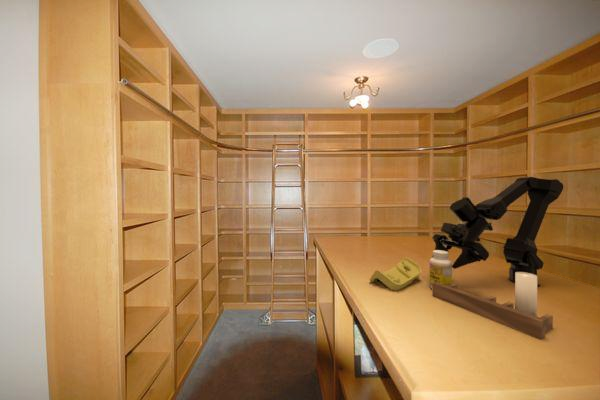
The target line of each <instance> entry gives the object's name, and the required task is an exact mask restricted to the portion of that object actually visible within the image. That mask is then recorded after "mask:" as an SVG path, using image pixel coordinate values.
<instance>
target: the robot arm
mask: <svg viewBox="0 0 600 400" xmlns="http://www.w3.org/2000/svg"><path fill="white" fill-rule="evenodd" d="M563 190H564V183H562V182H561V181H560V180H559V179H556V178H555V179H554V178H553V179H552V178H551V179H548V178H538V177H534V176H524V177H518V178H516V179H515V181H514V182H513V183H511V184H510V185H509V186H507V187H506V188H505V189H503V190H502V191H500V192H499V193H498V194H496V195H495V196H494V197H492V198H487V199H485V200H482V201H480V202H479V203H477V204H476V205H475V204H474V203H473V202H472V200H471V199H470V198H469V197H468V196H467V197H466V196H465V197H462V198H461V199H458V200H456V201H455V202H453V203H451V204H450V207H449V209H450V211H451V212H452V213H453V214H454V215H455V216H456V218H458V220H459V221H461V222H465V223H457V224H454V223H449V222H443V223H442V226H441V229H440V232H441V233H445V234H447V236H448V237H447V236H446V235H444V234H440V233H436V234H434V235H433V236H432V240H433V242H434V243H435V248H434V250H443V251H447V252H449V251H450V250H451V249H452V248H455V249H460V250H461V253H460V254H459V256H458V257H457V258H456V260H455V261H454V262H453V263H452V269H454V270H455V269H458V268H460V267H463V266H467V265H469V264H472V263H476V262H477V263H478V262H481V261H484V262H486V261H487V259H488V258H489V257H490V252H489V251H488V250H487V249H486V247H485V246H484V245H482V243H481V242H480V241H481V239H480V236H481V235H482V234H483V233H484V231H490V232H492V231H494V228H493V225H492V222H488V220H493V221H498V220H500V219H501V218H502V217H503V216H504V215H505V214H506V213H507V212H508V207H509V206H510V205H511V204H513V203H514V202H515V201H517V200H518V199H519V198H521V197H522V196H524V195H525V194H526V193H527V196H528V198H529V203H528V205H527V208H526V211H525V213H524V216H523V218H522V220H521V223H520V226H519V228H518V231H517V233H516V235H515V236H514V237H513V238H512V237H511V238H510V237H507V238H506V240H505V243H504V245H503V246H502V248H503V251H502V254H503V255H504V258H505V261H506V263H508V264H510V267H509V269H508V270H509V271H508V275H509V276H508V279H509V280H510V281H512V282H514V283H515V272H526V273H531V274H534V275H537V276H538V271H539V270H542V269H543V267H544V264H545V263H544V261H543V260H542V259H541V258H540V257H539V256H538V255H537V254H538V248H537V245H536V239H537V236H538V233H539V231H540V228H541V226H542V223H543V220H544V218H545V215H546V214H547V213H546V212H547V210H548V207H549V206H550V205H551V204H552V203H553V202H555V201H556V200H558V199H559V197H560V195H561V194H562V192H563ZM450 239H451V240H450ZM433 257H434V255H433V254H432V257H431V258H433ZM540 286H541V284H540V283H538V282H537V287H540Z"/></svg>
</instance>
